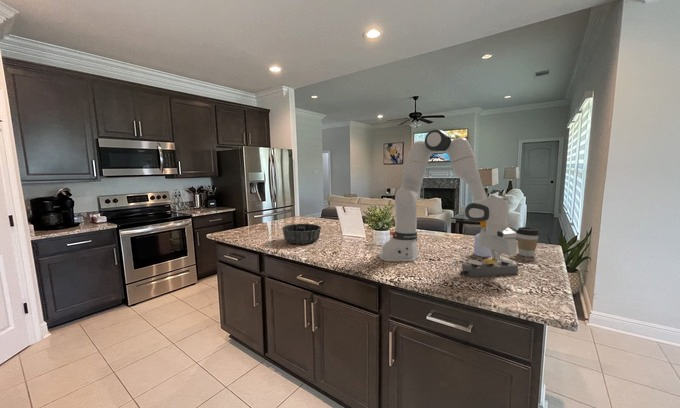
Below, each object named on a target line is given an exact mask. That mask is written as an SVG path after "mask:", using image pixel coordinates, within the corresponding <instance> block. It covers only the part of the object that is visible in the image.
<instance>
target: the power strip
mask: <svg viewBox="0 0 680 408" xmlns="http://www.w3.org/2000/svg"><path fill="white" fill-rule="evenodd" d="M482 263H483V264H482V265H476V264H472V263H470V262H468V263H462V265H461V270H460V271H459V274H461V275H464V274H465V275H466V276H468V277H470V278H482V277H483V278H484V277H494V276H506V275H508V276H509V275H516V274H519V273H518V272H519V265H518V264H516V263H514V262H513V263H508V262H503V261H500V260H497V263H494V264H486V263H484V262H483V261H482Z"/></svg>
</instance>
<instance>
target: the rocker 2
mask: <svg viewBox="0 0 680 408" xmlns="http://www.w3.org/2000/svg"><path fill="white" fill-rule="evenodd" d="M497 261H498V260H495V259H492V258H485V259H482V262H484V263H486V264H494V263H497Z"/></svg>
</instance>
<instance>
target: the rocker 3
mask: <svg viewBox="0 0 680 408" xmlns="http://www.w3.org/2000/svg"><path fill="white" fill-rule="evenodd" d="M499 261H503V262H508V263H514V261H513V260H512V259H509V258H506V257H500V260H499Z"/></svg>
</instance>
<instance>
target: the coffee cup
mask: <svg viewBox="0 0 680 408" xmlns="http://www.w3.org/2000/svg"><path fill="white" fill-rule="evenodd" d="M515 232H516V233H517V237H516V241H517V253H518V255H519V256H522V257H526V258H527V257H528V258H529V257H530V258H531V257H534V256H535V253H536V250H537V245H538V240H539V236H540V234H541V233H540V231H539V230H538V229H537V228H533V227H527V226H526V227H524V226H522V227H521V226H519V227H518V229H516V231H515Z"/></svg>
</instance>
